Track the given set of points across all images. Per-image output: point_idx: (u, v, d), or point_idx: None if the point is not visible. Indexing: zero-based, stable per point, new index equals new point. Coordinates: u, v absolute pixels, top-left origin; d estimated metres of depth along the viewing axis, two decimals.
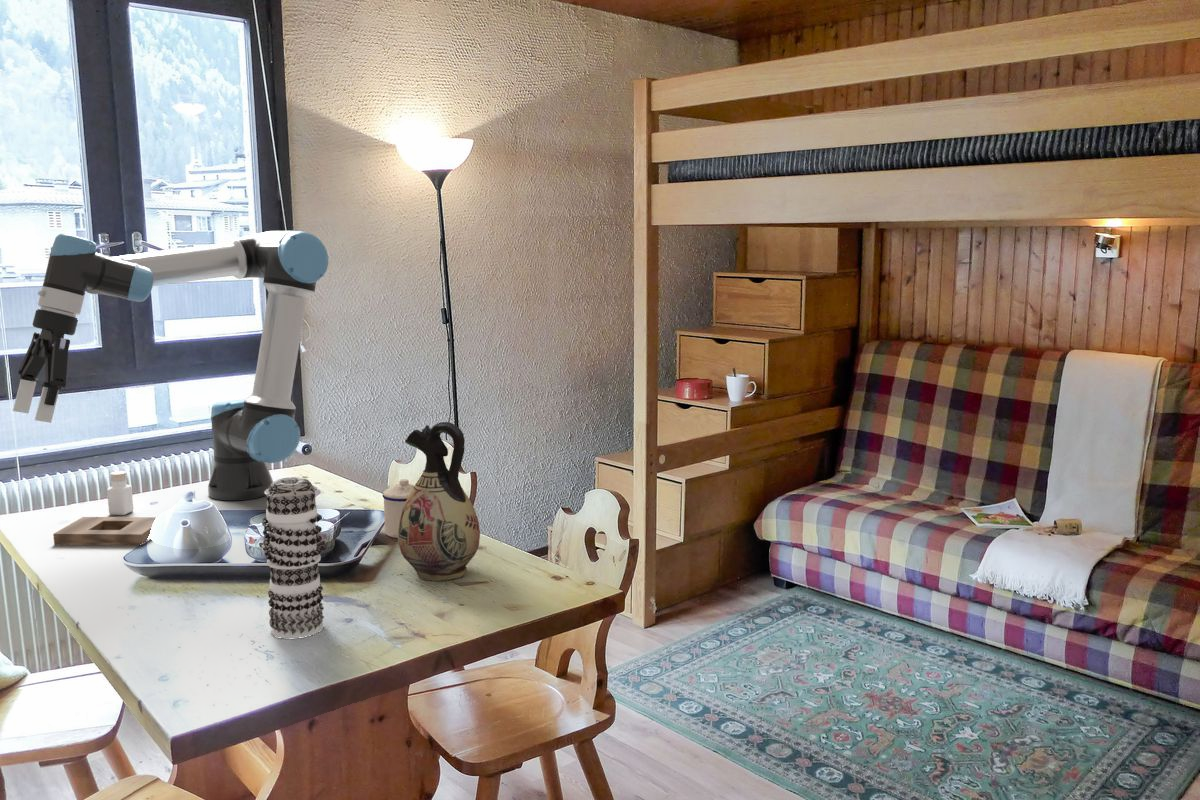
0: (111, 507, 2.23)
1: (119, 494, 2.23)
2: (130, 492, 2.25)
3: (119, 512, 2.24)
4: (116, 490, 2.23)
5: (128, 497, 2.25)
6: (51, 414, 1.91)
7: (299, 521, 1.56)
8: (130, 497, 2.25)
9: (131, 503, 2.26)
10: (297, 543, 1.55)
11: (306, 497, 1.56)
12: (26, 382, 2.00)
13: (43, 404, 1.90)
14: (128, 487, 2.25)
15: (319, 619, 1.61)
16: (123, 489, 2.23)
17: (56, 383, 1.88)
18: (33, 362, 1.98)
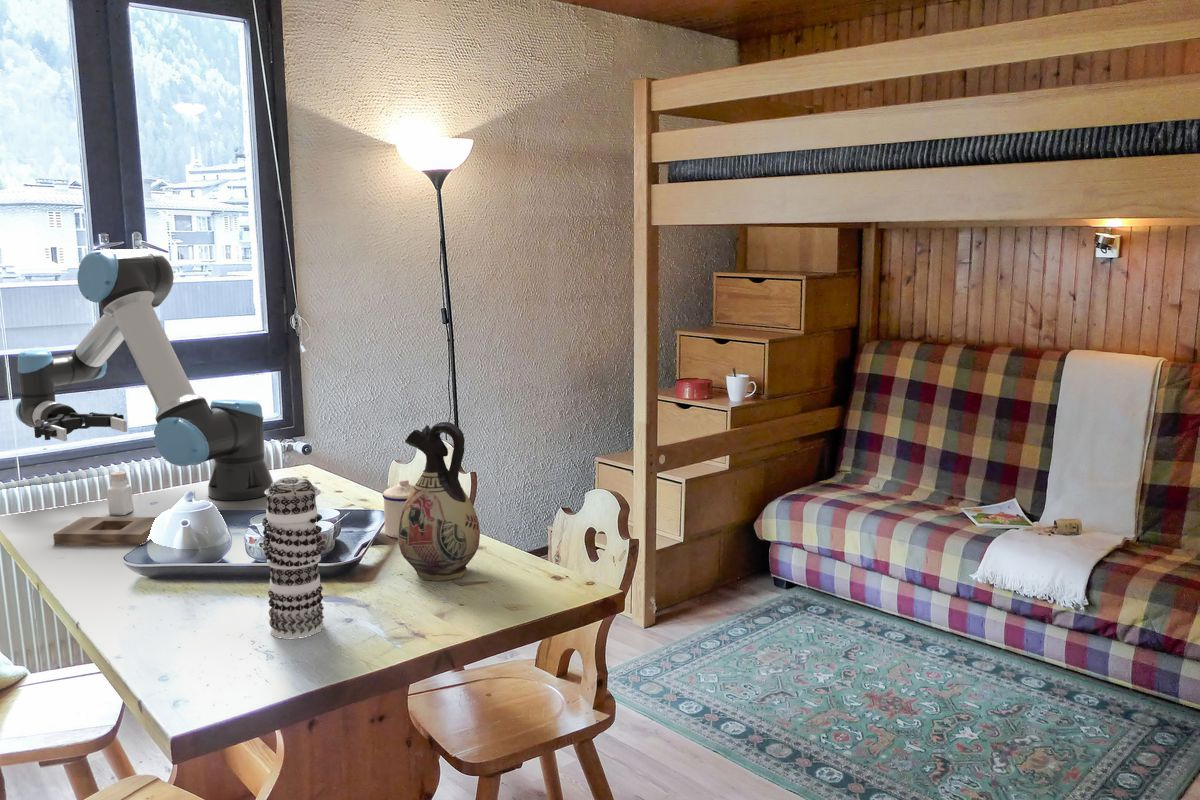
0: (111, 507, 2.23)
1: (119, 494, 2.23)
2: (130, 492, 2.25)
3: (119, 512, 2.24)
4: (117, 489, 2.23)
5: (128, 497, 2.25)
6: (59, 429, 2.24)
7: (299, 521, 1.56)
8: (130, 497, 2.25)
9: (131, 503, 2.26)
10: (297, 543, 1.55)
11: (306, 497, 1.56)
12: (111, 424, 2.37)
13: (57, 436, 2.25)
14: (128, 487, 2.25)
15: (319, 619, 1.61)
16: (123, 489, 2.23)
17: (35, 434, 2.26)
18: (94, 424, 2.38)
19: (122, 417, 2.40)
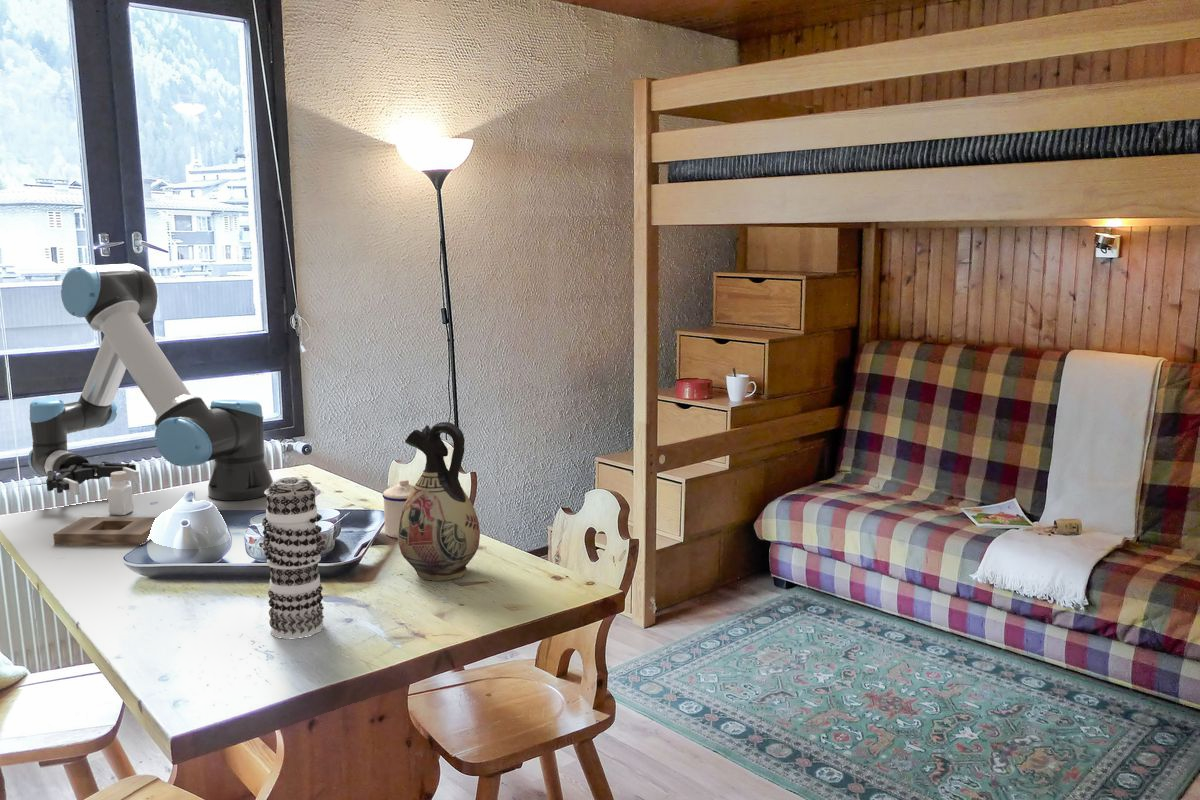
0: (111, 507, 2.23)
1: (119, 494, 2.23)
2: (130, 492, 2.25)
3: (119, 512, 2.24)
4: (116, 489, 2.23)
5: (128, 497, 2.25)
6: (72, 483, 2.23)
7: (299, 521, 1.56)
8: (130, 497, 2.25)
9: (131, 503, 2.26)
10: (297, 543, 1.55)
11: (306, 497, 1.56)
12: None
13: (69, 489, 2.24)
14: (128, 487, 2.25)
15: (319, 619, 1.61)
16: (123, 489, 2.23)
17: (47, 487, 2.25)
18: (106, 475, 2.37)
19: (134, 467, 2.39)
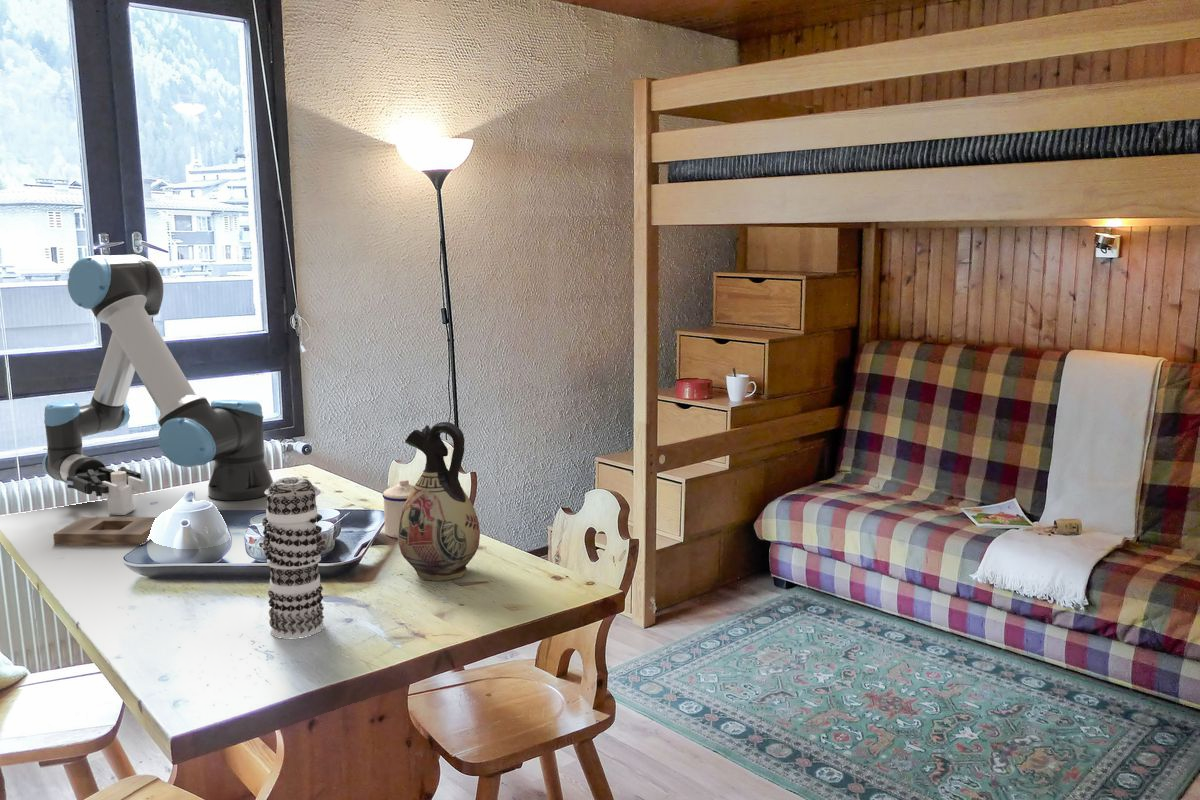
0: (111, 507, 2.23)
1: (119, 493, 2.23)
2: (130, 492, 2.25)
3: (119, 512, 2.24)
4: None
5: (128, 497, 2.25)
6: (111, 486, 2.20)
7: (299, 521, 1.56)
8: (130, 497, 2.25)
9: (131, 503, 2.26)
10: (297, 543, 1.55)
11: (306, 497, 1.56)
12: (128, 484, 2.27)
13: (109, 493, 2.21)
14: (128, 487, 2.25)
15: (319, 619, 1.61)
16: (123, 489, 2.23)
17: (87, 490, 2.21)
18: None
19: (139, 476, 2.30)
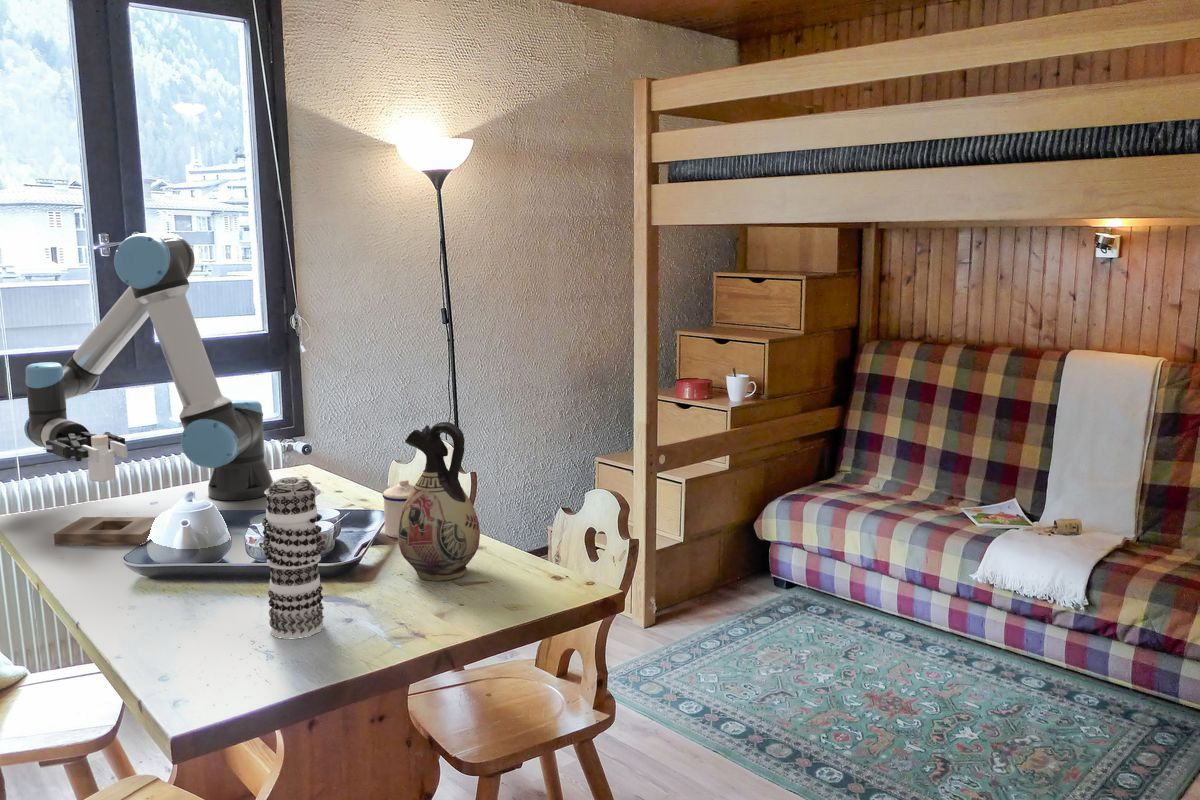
0: (91, 473, 2.08)
1: (100, 458, 2.07)
2: (112, 457, 2.10)
3: (100, 478, 2.08)
4: None
5: (110, 463, 2.09)
6: (91, 450, 2.04)
7: (299, 521, 1.56)
8: (112, 463, 2.10)
9: (113, 469, 2.10)
10: (297, 543, 1.55)
11: (306, 497, 1.56)
12: (111, 449, 2.11)
13: (88, 457, 2.05)
14: (110, 452, 2.09)
15: (319, 619, 1.61)
16: (104, 453, 2.08)
17: (65, 455, 2.06)
18: None
19: (123, 441, 2.14)
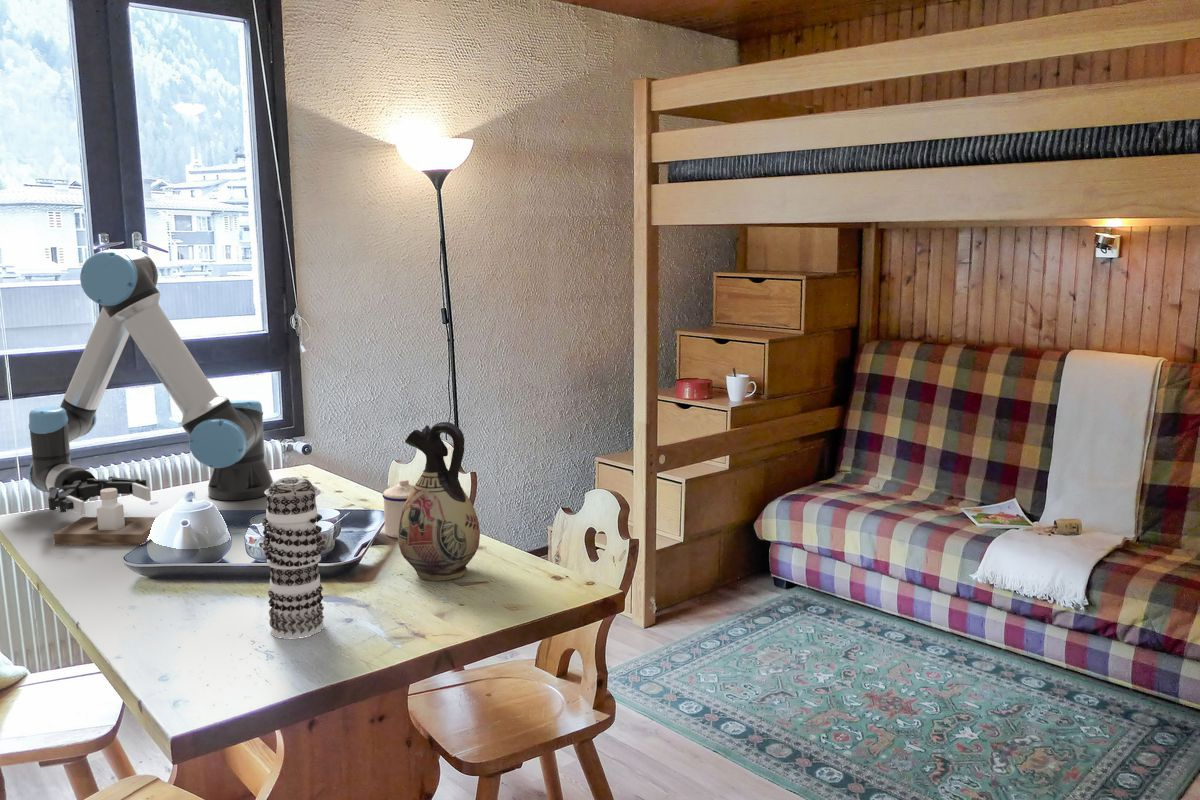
0: (101, 527, 2.07)
1: (110, 513, 2.06)
2: (121, 511, 2.09)
3: None
4: (106, 508, 2.06)
5: (119, 516, 2.08)
6: (76, 501, 2.01)
7: (299, 521, 1.56)
8: (121, 516, 2.09)
9: (122, 522, 2.09)
10: (297, 543, 1.55)
11: (306, 497, 1.56)
12: (133, 491, 2.14)
13: (73, 509, 2.02)
14: (119, 505, 2.08)
15: (319, 619, 1.61)
16: (114, 507, 2.06)
17: (49, 506, 2.03)
18: None
19: (145, 482, 2.17)
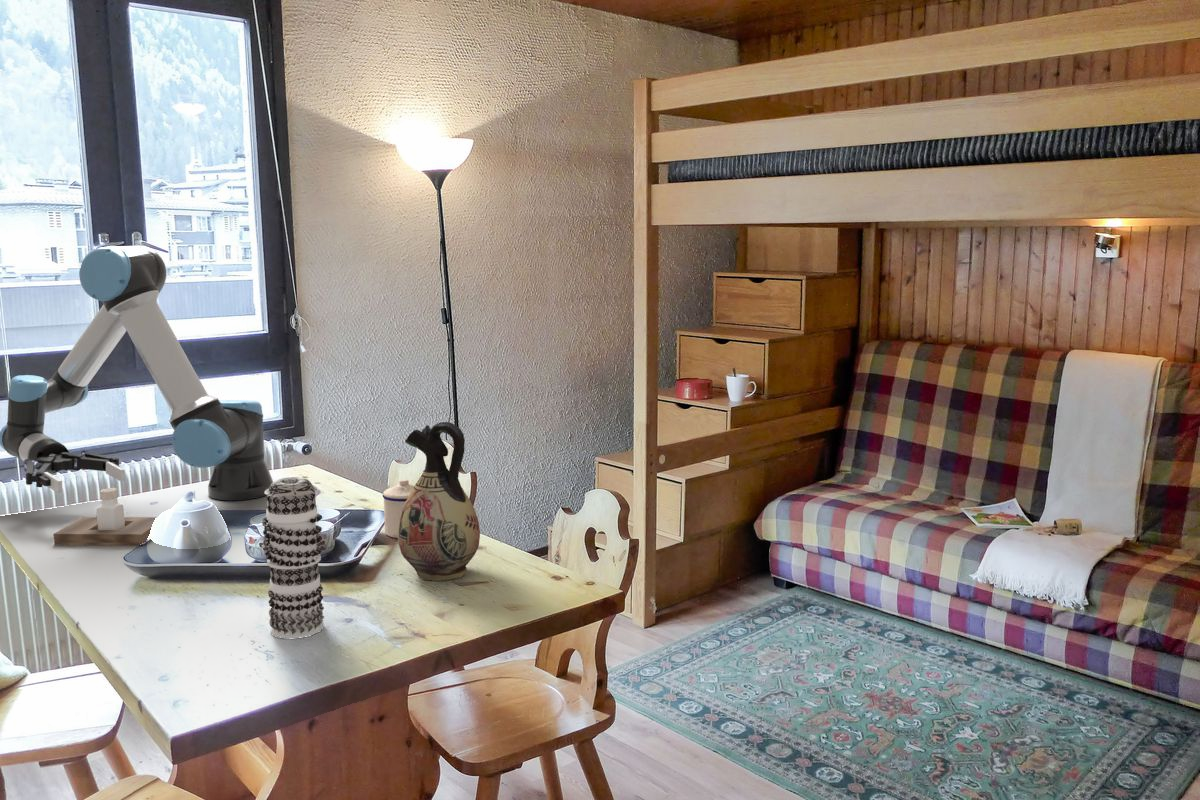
0: (101, 527, 2.07)
1: (110, 513, 2.06)
2: (121, 511, 2.09)
3: None
4: (106, 508, 2.06)
5: (119, 516, 2.08)
6: (54, 480, 2.11)
7: (299, 521, 1.56)
8: (121, 516, 2.09)
9: (122, 522, 2.09)
10: (297, 543, 1.55)
11: (306, 497, 1.56)
12: (106, 469, 2.24)
13: (50, 486, 2.12)
14: (119, 505, 2.08)
15: (319, 619, 1.61)
16: (114, 507, 2.06)
17: (26, 480, 2.12)
18: (87, 467, 2.25)
19: (117, 461, 2.27)
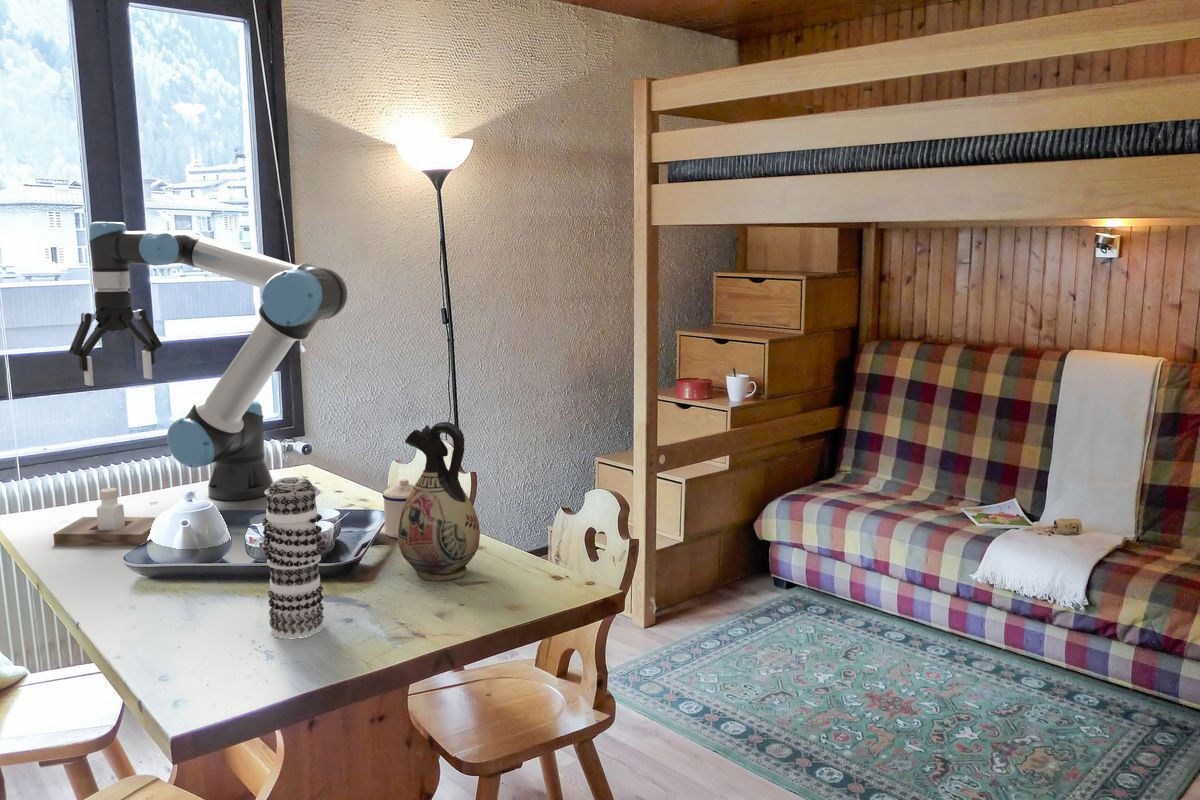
0: (101, 527, 2.07)
1: (109, 513, 2.06)
2: (121, 511, 2.09)
3: None
4: (106, 508, 2.06)
5: (119, 516, 2.08)
6: (89, 378, 2.24)
7: (299, 521, 1.56)
8: (121, 516, 2.09)
9: (122, 522, 2.09)
10: (297, 543, 1.55)
11: (306, 497, 1.56)
12: (143, 352, 2.35)
13: (84, 370, 2.25)
14: (119, 505, 2.08)
15: (319, 619, 1.61)
16: (114, 507, 2.06)
17: (70, 352, 2.22)
18: (132, 335, 2.32)
19: None
